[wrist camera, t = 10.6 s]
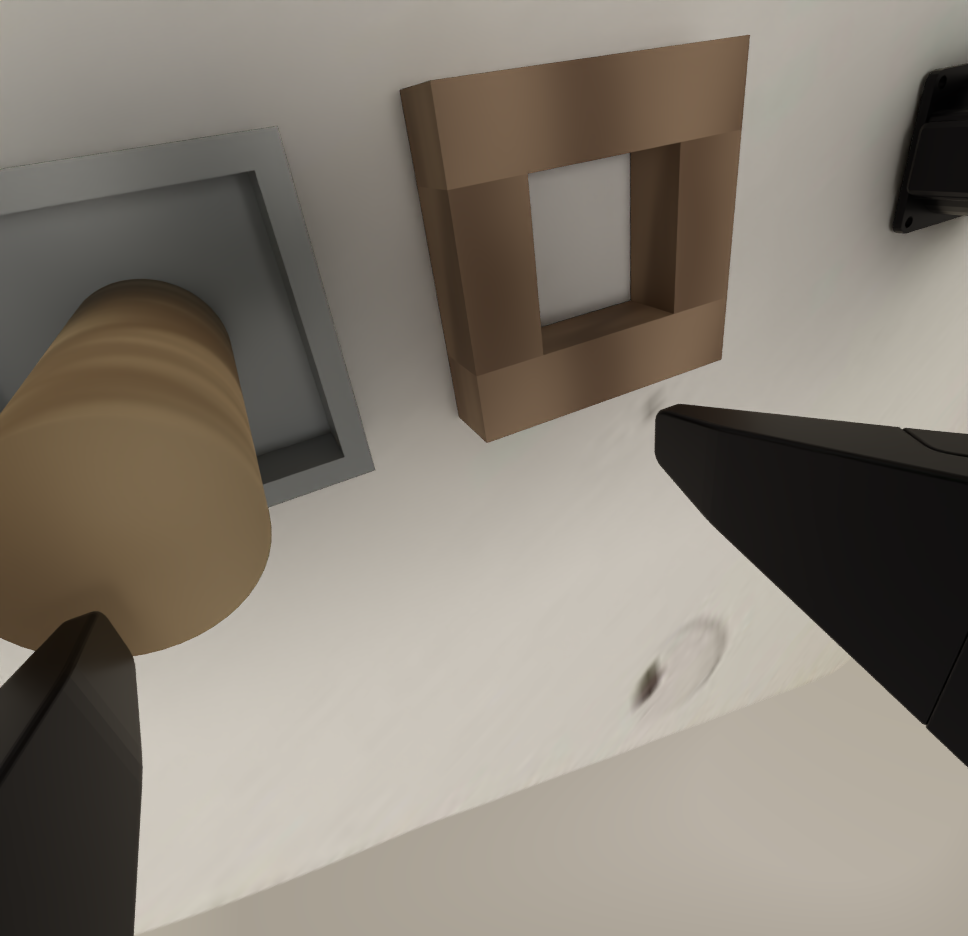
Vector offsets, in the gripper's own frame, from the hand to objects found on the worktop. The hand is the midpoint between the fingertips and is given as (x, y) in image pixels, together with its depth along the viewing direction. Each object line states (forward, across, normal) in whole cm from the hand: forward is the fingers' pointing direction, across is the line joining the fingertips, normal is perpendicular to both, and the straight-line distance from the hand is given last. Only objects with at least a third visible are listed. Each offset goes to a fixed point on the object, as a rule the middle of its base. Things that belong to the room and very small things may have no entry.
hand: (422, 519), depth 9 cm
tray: (+11, +4, -1) cm, 12 cm away
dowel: (+11, +4, -1) cm, 12 cm away
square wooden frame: (+12, -10, -1) cm, 15 cm away
